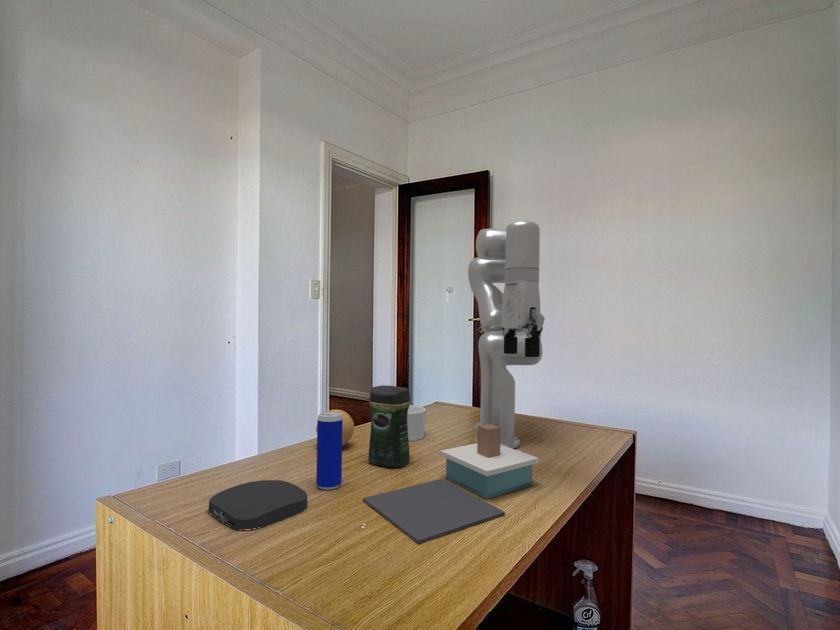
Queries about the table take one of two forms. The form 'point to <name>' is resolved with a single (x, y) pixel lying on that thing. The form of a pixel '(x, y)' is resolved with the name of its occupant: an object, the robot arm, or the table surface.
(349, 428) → the stress ball
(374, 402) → the coffee jar
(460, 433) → the table surface
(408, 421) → the mug
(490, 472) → the lid
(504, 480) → the square tray
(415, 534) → the mat
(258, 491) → the media streaming box
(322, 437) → the beverage can
